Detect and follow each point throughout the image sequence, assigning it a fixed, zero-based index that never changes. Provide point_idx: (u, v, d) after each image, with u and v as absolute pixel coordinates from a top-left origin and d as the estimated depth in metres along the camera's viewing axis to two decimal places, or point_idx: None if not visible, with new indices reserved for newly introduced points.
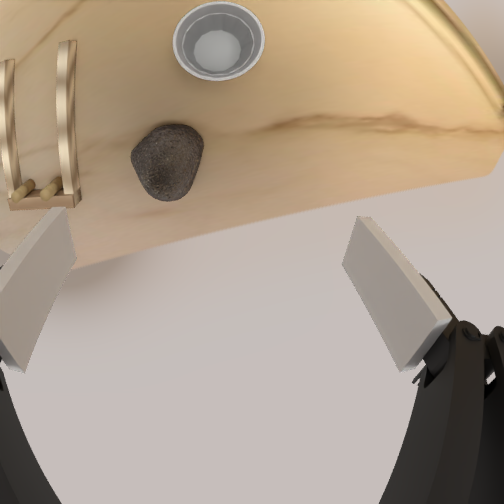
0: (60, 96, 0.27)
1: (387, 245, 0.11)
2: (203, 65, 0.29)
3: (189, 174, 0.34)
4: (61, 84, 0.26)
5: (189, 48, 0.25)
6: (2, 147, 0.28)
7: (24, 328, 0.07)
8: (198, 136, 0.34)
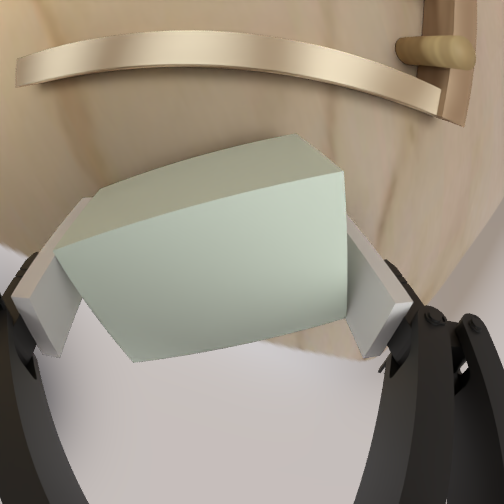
0: None
1: (352, 231, 0.11)
2: None
3: None
4: None
5: None
6: (292, 63, 0.10)
7: (61, 313, 0.08)
8: None
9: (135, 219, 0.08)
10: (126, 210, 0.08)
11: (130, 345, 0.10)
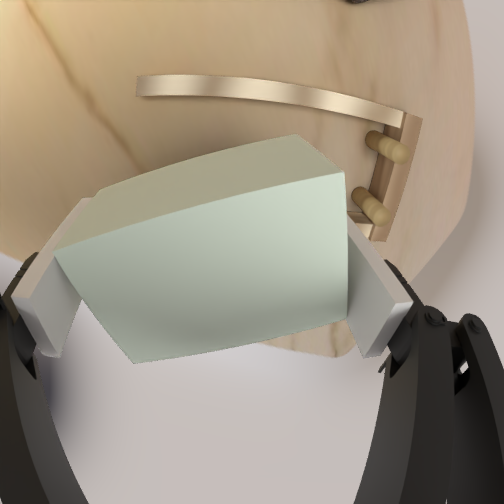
0: (241, 90, 0.19)
1: (352, 232, 0.11)
2: None
3: None
4: (218, 85, 0.18)
5: None
6: None
7: (61, 313, 0.08)
8: None
9: (134, 220, 0.08)
10: (126, 211, 0.08)
11: (130, 346, 0.10)
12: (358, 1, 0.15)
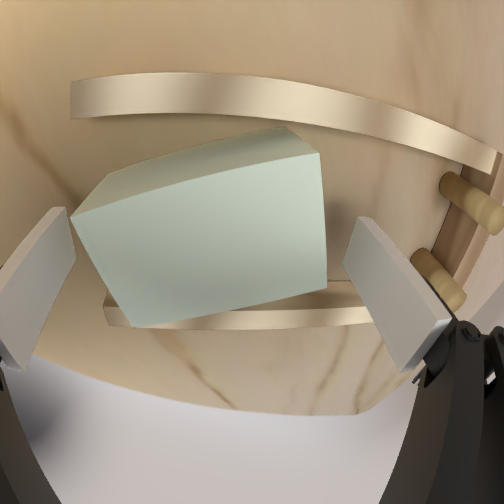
0: (268, 102, 0.10)
1: (387, 245, 0.11)
2: None
3: None
4: (224, 93, 0.09)
5: None
6: (331, 321, 0.17)
7: (24, 328, 0.07)
8: None
9: (144, 190, 0.09)
10: (136, 184, 0.10)
11: (132, 309, 0.12)
12: None
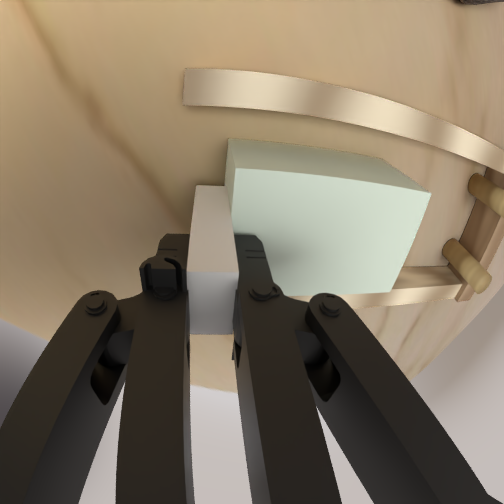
0: (362, 113, 0.11)
1: (218, 207, 0.11)
2: None
3: None
4: (330, 100, 0.11)
5: None
6: (385, 301, 0.19)
7: None
8: None
9: (317, 173, 0.11)
10: (298, 164, 0.11)
11: None
12: (471, 3, 0.08)
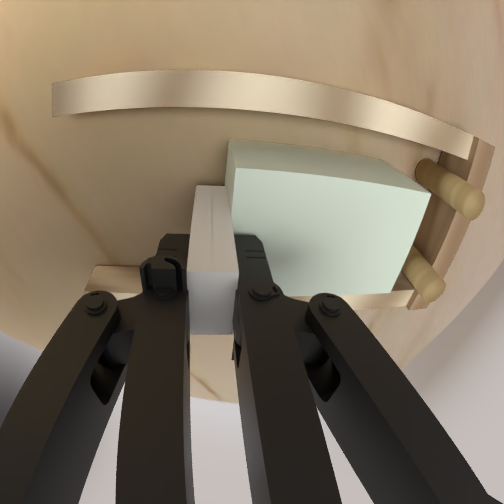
0: (226, 94, 0.10)
1: (218, 207, 0.11)
2: None
3: None
4: (185, 87, 0.10)
5: None
6: None
7: None
8: None
9: (318, 173, 0.11)
10: (298, 164, 0.11)
11: None
12: None
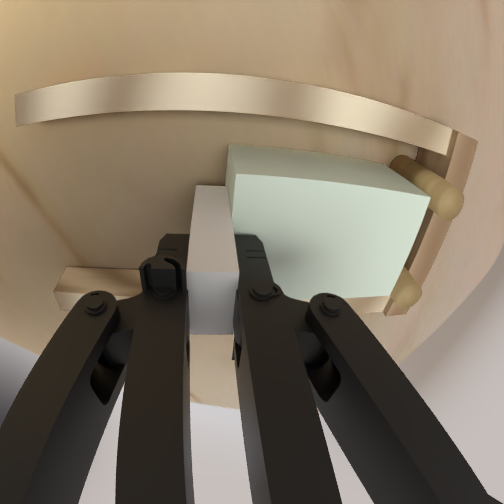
0: (170, 95, 0.10)
1: (218, 207, 0.11)
2: None
3: None
4: (130, 91, 0.10)
5: None
6: None
7: None
8: None
9: (318, 178, 0.11)
10: (298, 169, 0.11)
11: None
12: None
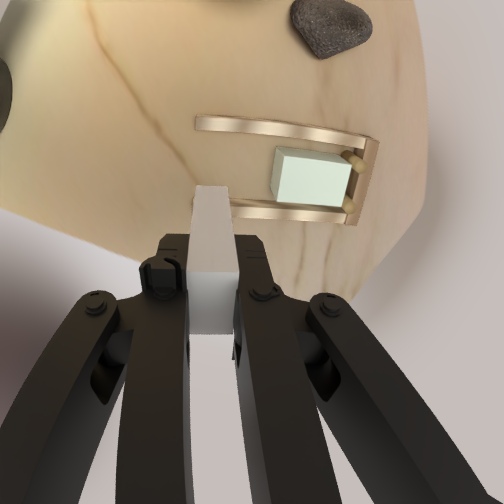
0: (261, 129, 0.33)
1: (218, 207, 0.11)
2: None
3: (345, 1, 0.22)
4: (247, 126, 0.32)
5: None
6: (291, 217, 0.40)
7: None
8: None
9: (308, 158, 0.33)
10: (302, 155, 0.34)
11: (282, 193, 0.35)
12: (323, 58, 0.29)
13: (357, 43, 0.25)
